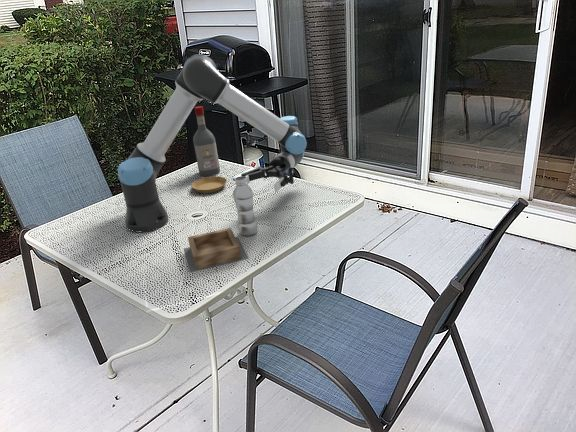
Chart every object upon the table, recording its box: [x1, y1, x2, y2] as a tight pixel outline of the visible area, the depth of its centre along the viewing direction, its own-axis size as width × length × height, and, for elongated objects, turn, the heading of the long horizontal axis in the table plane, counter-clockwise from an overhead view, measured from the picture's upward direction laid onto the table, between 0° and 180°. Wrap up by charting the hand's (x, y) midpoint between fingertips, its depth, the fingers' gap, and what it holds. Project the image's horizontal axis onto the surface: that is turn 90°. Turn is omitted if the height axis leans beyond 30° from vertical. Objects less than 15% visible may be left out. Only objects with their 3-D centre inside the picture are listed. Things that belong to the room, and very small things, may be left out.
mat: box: [183, 236, 250, 273], centre depth 155 cm, size 18×16×1 cm
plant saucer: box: [191, 175, 228, 194], centre depth 208 cm, size 15×15×3 cm
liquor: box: [192, 105, 221, 177], centre depth 219 cm, size 9×9×30 cm
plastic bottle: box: [232, 176, 259, 237], centre depth 162 cm, size 6×7×20 cm
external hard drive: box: [232, 167, 254, 181], centre depth 217 cm, size 2×8×12 cm
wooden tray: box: [187, 227, 242, 269], centre depth 154 cm, size 14×14×4 cm
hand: (257, 187), depth 169 cm, fingers open, 13 cm apart
